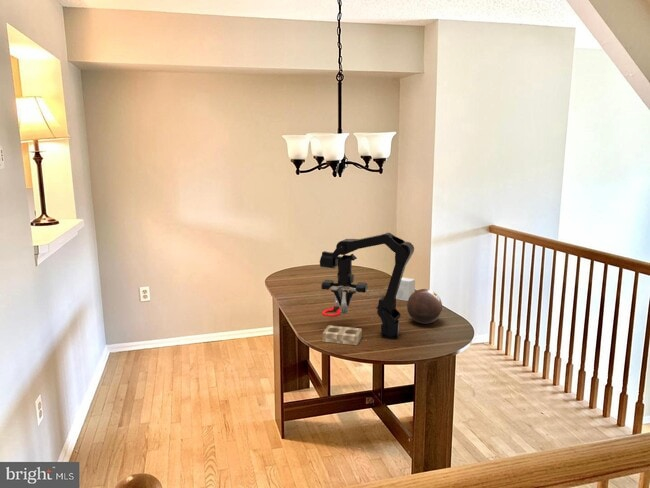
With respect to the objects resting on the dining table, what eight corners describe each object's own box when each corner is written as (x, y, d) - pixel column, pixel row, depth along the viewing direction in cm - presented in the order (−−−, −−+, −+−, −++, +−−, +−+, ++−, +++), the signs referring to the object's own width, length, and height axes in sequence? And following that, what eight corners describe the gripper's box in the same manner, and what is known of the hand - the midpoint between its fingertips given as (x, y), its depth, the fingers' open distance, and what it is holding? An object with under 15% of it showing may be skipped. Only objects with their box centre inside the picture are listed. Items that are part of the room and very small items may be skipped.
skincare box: (414, 298, 245) (415, 278, 243) (409, 301, 240) (409, 281, 238) (396, 295, 251) (397, 275, 249) (390, 298, 246) (391, 278, 244)
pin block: (361, 336, 195) (361, 328, 194) (357, 345, 186) (357, 336, 186) (328, 333, 199) (328, 325, 198) (322, 341, 190) (322, 333, 189)
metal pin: (348, 311, 204) (348, 289, 202) (346, 313, 201) (347, 291, 199) (341, 311, 205) (341, 288, 203) (339, 313, 202) (340, 290, 200)
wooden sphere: (442, 329, 203) (444, 295, 200) (406, 327, 205) (407, 293, 202) (440, 317, 217) (441, 285, 214) (406, 316, 220) (407, 284, 217)
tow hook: (333, 319, 217) (345, 312, 224) (332, 291, 214) (344, 286, 221) (318, 315, 222) (330, 309, 229) (317, 288, 219) (329, 283, 226)
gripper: (370, 266, 205) (369, 301, 208) (328, 263, 210) (327, 298, 213) (365, 273, 194) (364, 309, 197) (321, 269, 199) (321, 305, 202)
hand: (344, 305), depth 203 cm, fingers closed on metal pin, 3 cm apart
